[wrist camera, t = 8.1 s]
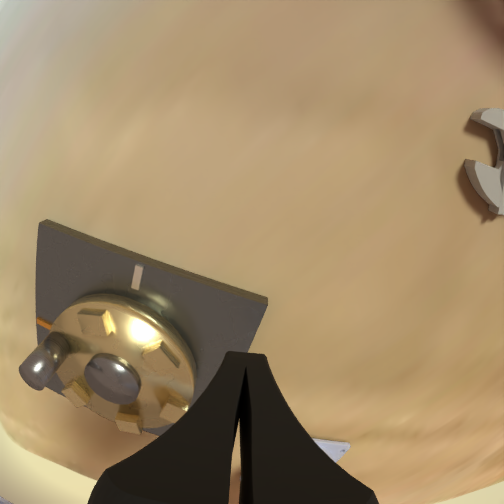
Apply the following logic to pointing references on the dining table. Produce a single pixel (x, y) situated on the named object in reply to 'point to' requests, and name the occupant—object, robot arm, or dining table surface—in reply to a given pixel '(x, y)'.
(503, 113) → the adjustable wrench
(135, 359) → the rotary dial knob
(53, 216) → the dining table surface
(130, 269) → the base plate
